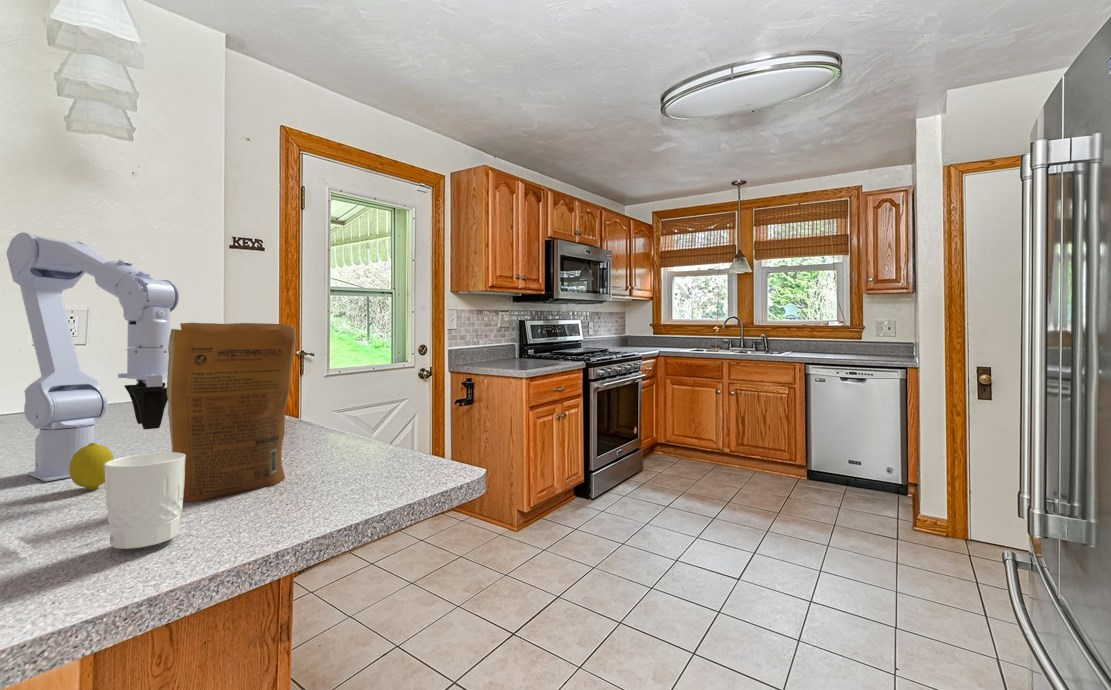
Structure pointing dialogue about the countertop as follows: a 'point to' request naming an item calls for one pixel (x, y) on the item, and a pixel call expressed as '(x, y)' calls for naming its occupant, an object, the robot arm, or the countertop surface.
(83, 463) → the lemon
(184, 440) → the pancake mix bag
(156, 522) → the white cup
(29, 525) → the countertop surface
